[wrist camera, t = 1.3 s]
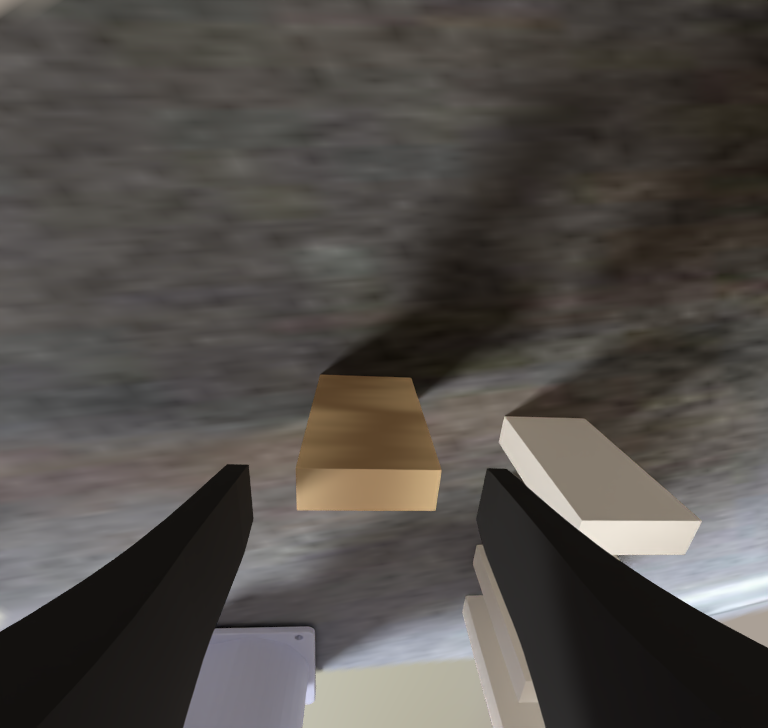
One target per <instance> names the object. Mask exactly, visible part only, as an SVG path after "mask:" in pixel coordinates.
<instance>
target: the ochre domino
mask: <svg viewBox="0 0 768 728" xmlns="http://www.w3.org/2000/svg"><path fill="white" fill-rule="evenodd" d="M441 471H442V470H441V467H440V464H439V461H438V458H437V455H436V452H435V449H434V446H433V443H432V440H431V437H430V434H429V430H428V427H427V424H426V421H425V418H424V415H423V412H422V409H421V406H420V403H419V400H418V397H417V394H416V391H415V388H414V385H413V382H412V379H411V378H404V377H376V376H347V375H320V377H319V381H318V385H317V389H316V393H315V396H314V400H313V404H312V408H311V412H310V416H309V419H308V423H307V427H306V431H305V435H304V439H303V442H302V446H301V450H300V454H299V458H298V462H297V465H296V493H297V510H357V511H435V510H436V504H437V497H438V490H439V484H440V477H441Z"/></svg>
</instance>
